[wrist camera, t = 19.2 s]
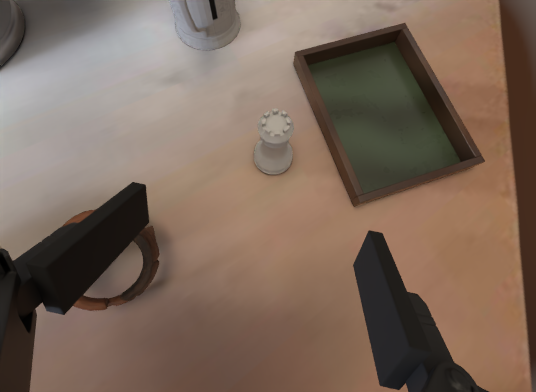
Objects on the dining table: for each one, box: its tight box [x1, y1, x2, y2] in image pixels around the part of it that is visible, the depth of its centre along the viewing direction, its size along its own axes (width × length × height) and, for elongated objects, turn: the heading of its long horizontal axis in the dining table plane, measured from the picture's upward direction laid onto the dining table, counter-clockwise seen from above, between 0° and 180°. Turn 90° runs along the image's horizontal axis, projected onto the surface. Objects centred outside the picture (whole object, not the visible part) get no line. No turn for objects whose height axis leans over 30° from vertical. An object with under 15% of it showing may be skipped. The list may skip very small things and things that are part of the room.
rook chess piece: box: [254, 109, 294, 175], centre depth 26 cm, size 4×4×8 cm
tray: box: [293, 23, 485, 207], centre depth 31 cm, size 20×15×2 cm
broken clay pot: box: [62, 209, 159, 311], centre depth 24 cm, size 12×10×8 cm
